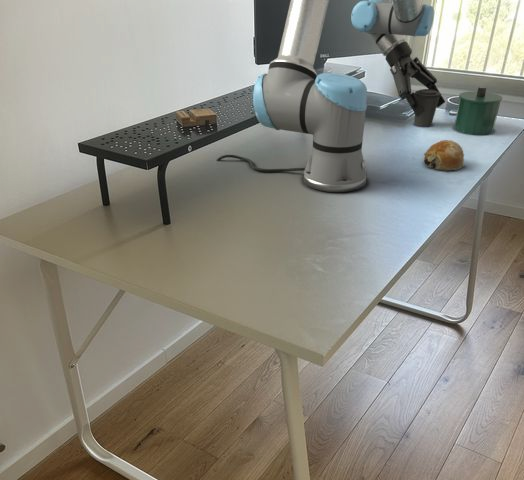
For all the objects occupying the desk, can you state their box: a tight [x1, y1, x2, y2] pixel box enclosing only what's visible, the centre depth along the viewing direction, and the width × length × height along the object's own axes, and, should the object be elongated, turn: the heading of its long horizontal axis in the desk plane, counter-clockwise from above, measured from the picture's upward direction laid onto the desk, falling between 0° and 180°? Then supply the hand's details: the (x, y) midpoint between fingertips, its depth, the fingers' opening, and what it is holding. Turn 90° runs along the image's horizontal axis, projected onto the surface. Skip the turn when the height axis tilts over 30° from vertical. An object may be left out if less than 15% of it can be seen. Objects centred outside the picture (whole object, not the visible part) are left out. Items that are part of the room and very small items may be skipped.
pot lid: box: [458, 85, 503, 103], centre depth 164 cm, size 12×12×4 cm
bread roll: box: [423, 139, 465, 172], centre depth 144 cm, size 10×10×8 cm
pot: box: [453, 98, 501, 136], centre depth 167 cm, size 11×11×9 cm
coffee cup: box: [413, 88, 442, 128], centre depth 171 cm, size 8×8×10 cm
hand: (431, 109), depth 171 cm, fingers open, 13 cm apart
